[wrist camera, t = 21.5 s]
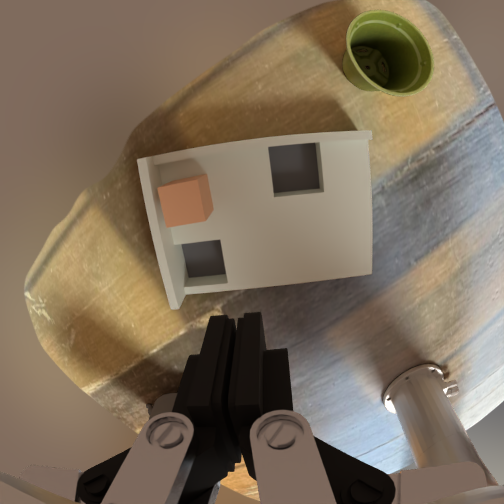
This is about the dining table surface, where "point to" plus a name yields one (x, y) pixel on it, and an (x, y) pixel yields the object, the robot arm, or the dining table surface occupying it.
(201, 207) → the block
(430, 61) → the plant pot
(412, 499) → the robot arm
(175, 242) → the tray
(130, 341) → the dining table surface
